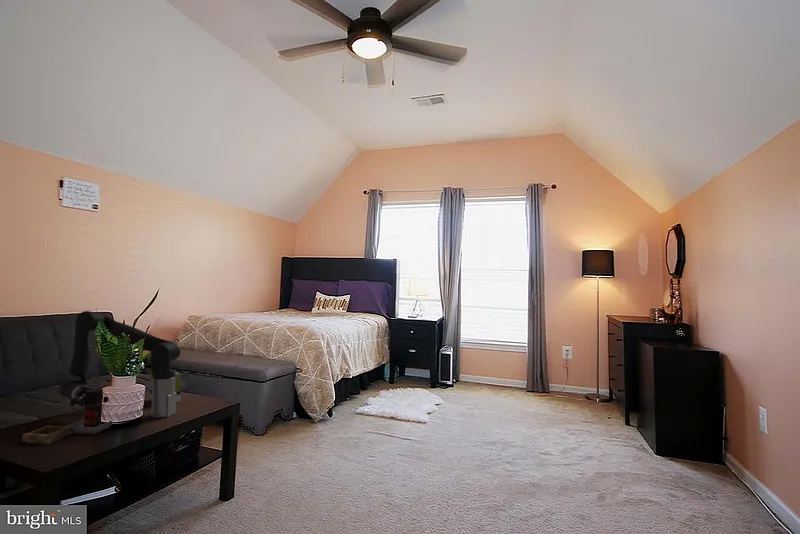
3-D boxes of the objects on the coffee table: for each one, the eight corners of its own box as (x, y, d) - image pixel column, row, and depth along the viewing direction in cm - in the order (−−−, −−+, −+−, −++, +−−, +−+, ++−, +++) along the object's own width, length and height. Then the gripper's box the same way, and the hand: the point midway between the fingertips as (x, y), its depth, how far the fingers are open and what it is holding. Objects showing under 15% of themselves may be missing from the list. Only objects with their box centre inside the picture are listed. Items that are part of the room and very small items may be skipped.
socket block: (71, 434, 169) (71, 426, 169) (47, 443, 158) (47, 435, 158) (47, 432, 170) (47, 425, 170) (22, 442, 159) (22, 434, 159)
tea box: (148, 400, 219) (149, 371, 219) (168, 396, 226) (169, 368, 227) (159, 405, 209) (160, 375, 210) (180, 401, 217) (181, 372, 217)
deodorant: (80, 426, 175) (82, 390, 175) (96, 422, 180) (98, 387, 180) (88, 429, 172) (90, 392, 172) (103, 425, 177) (105, 389, 177)
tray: (118, 423, 182) (118, 417, 182) (94, 434, 169) (94, 428, 169) (90, 422, 183) (90, 416, 183) (64, 433, 170) (64, 426, 170)
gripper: (64, 389, 180) (74, 396, 170) (103, 383, 191) (115, 389, 180) (63, 406, 180) (73, 414, 169) (102, 400, 191) (114, 407, 180)
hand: (95, 401), depth 175 cm, fingers open, 8 cm apart
